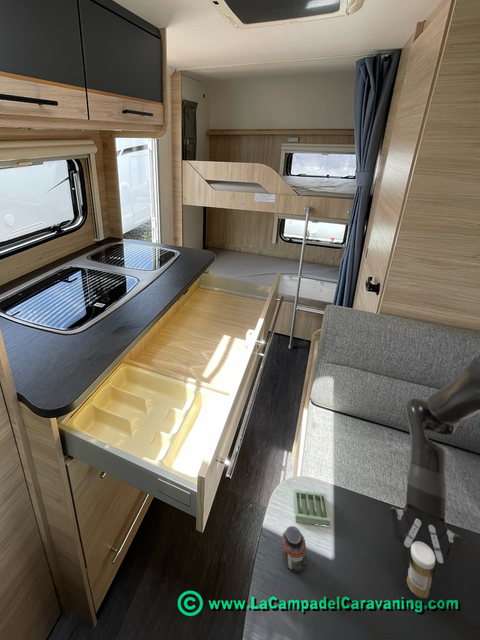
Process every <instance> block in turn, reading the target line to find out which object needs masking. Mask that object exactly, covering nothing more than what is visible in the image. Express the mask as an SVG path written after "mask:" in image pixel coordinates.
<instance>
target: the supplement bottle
mask: <svg viewBox="0 0 480 640" xmlns="http://www.w3.org/2000/svg"><path fill="white" fill-rule="evenodd" d="M281 540H282V541H281V543H282V558H283V562H284V564H285V566H286V568H287V569H289V571H291V572H293V573H301V572H302V571H304V569H305V568H306V564H307V549H306V548H307V546H306V539H305V537H304V535H303V534H302V533H301V530H300V529H299V528H298V527H296V526H294V525H291V526H290V525H289V526H288V527H287V528H286V530H284V532H283V533H282V536H281Z"/></svg>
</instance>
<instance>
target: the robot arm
mask: <svg viewBox="0 0 480 640" xmlns="http://www.w3.org/2000/svg"><path fill="white" fill-rule="evenodd" d="M404 411H405V417H406V421H407V426H408V431H409V437H410V459H409V466H408V471H407V479H406V480H407V484H406V486H407V487H406V497H405V498H406V499H405V505H404V507H403V508H396V507H395V506H391V507H390V514H391V520H392V526H393V531H394V536H395V539H397V540H398V541H399V542H400V543H401V544H402V546H403V547H402V561H403V563H405V567H407V568H408V569H409V568H410V557H411V545H412V543H413V541H414V540H415V538H416V536H418V537H421V538H424V539H426V540H427V541H429V542H431V544H432V547H433V553H434V555H435V566H434V567H433V572H432V577H433V578H432V579H433V581H434V582H437V583H439V581H442V580H443V567H444V564H449V565H451V566H453V565H454V564H455V561H456V558H457V556H458V553H459V551H460V548H461V546H462V543H463V540H462V538H461V536H460V535H459V534H457V533H456V532H455V533H454V532H453V531H452V530H450V529H449V528H448V526H447V524H446V501H447V498H446V497H447V481H446V480H447V479H446V466H447V465H446V463H447V462H446V461H447V453H446V450H445V448H443V446H441V445H440V444H438V443H437V442H433V441H432V440H430V439H429V438H428V436H427V435H426V432H425V431H428V432H431V433H434V434H436V435H437V434H438V435H441V436H452V435H453V434H455V432H456V431H457V428H458V426H459V425H460V423H461V422H464V421H466V420H467V419H470V418H472V417H474V416H475V415H477V414H478V413H479V412H480V353H478V354H477V355H475V356H474V358H473V359H472V360H471V361H470V362H469V363H468V364H467V366H466V367H465V369H464V370H463V372H461V374H460V375H459V376H458V377H457V378H456V380H455V381H453V382H451V383H449V384H447V385H445V386H443V387H442V388H440V389H438V390H437V391H436V392H434V393H433V394H431V395H430V396H429V397H428V399H427V400H424V399H420V398H417V397H416V398H414V397H413V398H411V399H410V400H409V399H408V401H407V402H406V405H405V410H404ZM403 516H404V518H405V520H406V522H407V525H409V527H408V528H407V531H406V534H405V535H404V534H403V533H402V532H401V527H400V522H399V521H401V520H402V517H403ZM444 535H447V539H448V542H449V545H448V548H447V550H446V553H442V549H441V546H440V542H439V540H440V539H441V538H442V537H443V536H444Z"/></svg>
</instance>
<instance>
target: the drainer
mask: <svg viewBox="0 0 480 640" xmlns="http://www.w3.org/2000/svg"><path fill="white" fill-rule="evenodd" d="M299 490H300V489H299ZM299 490H298V489H293V503H294V518H295V523H298V524H305V525H311V524H318V525H326V526H329V527H328V528H331V517H330V511H329V505H328V499H327V494H326V493H321V492H314V491H307V490H300V491H301V502H302V514H301V513H300V501H299ZM306 491H307V493H308V503H309V515H307V505H306ZM313 492H314V495H315V503H316V516H314V507H313ZM320 493H321V496H322V503H323V510H324V517H322V516H321V509H320Z"/></svg>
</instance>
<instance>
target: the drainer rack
mask: <svg viewBox="0 0 480 640" xmlns="http://www.w3.org/2000/svg"><path fill="white" fill-rule="evenodd" d="M301 491H302V490H300V489H299V501H300V513H301V514H302V502H301ZM305 491H306V505H307V515H309V503H308V493H307V492H308V490H305ZM312 492H313V507H314V516H316V503H315V495H314V491H312ZM319 493H320V509H321V516H322V517H324V510H323V503H322V496H321V492H319Z"/></svg>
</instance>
